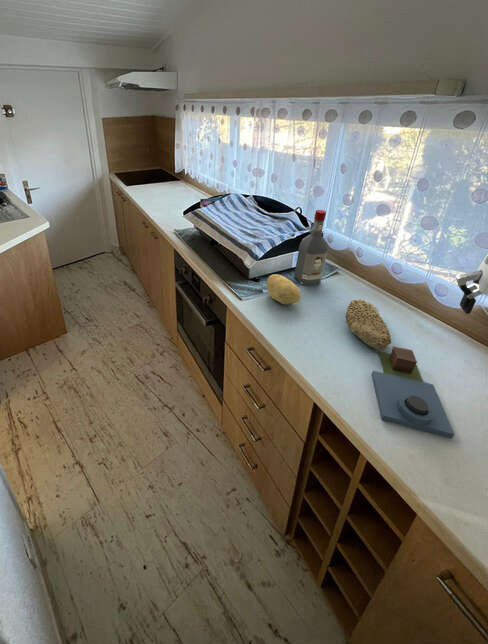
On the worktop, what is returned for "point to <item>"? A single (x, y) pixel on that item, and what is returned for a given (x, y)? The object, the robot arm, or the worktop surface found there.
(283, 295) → the potato
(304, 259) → the liquor
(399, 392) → the box
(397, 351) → the block
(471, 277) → the robot arm
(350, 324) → the sponge
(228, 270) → the worktop surface
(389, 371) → the pad
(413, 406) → the button
